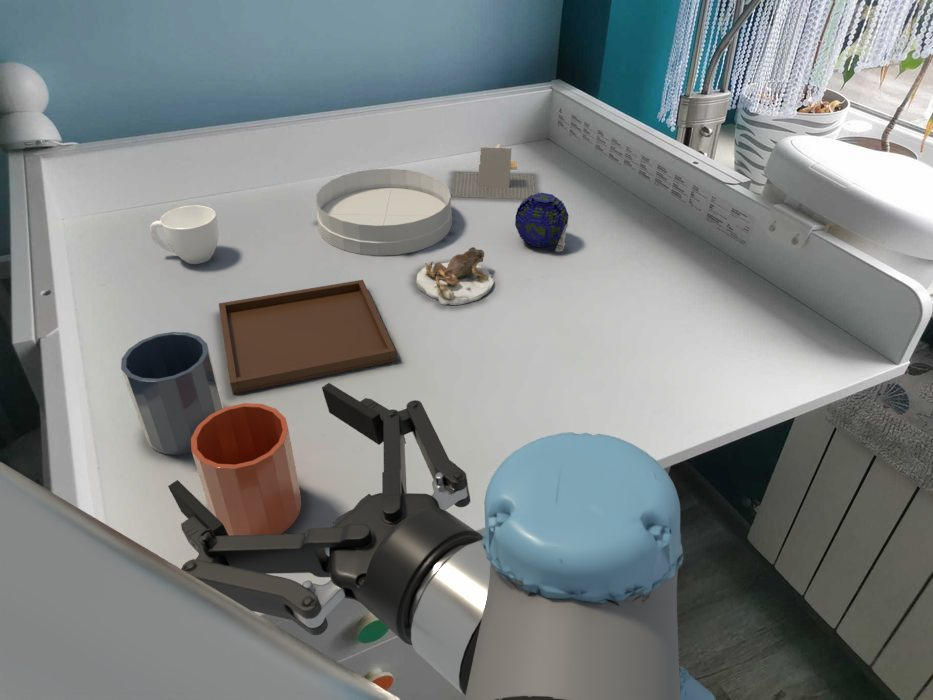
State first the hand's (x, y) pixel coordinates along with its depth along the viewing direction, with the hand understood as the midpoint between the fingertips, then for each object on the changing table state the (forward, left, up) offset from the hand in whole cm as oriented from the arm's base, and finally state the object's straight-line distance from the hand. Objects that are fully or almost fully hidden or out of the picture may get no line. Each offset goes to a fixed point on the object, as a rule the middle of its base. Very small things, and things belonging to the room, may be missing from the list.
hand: (259, 443), depth 54 cm
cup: (-6, +60, -15) cm, 62 cm away
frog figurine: (+30, +41, -15) cm, 53 cm away
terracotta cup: (-2, +7, -15) cm, 16 cm away
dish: (+25, +62, -15) cm, 68 cm away
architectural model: (+48, +71, -15) cm, 87 cm away
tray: (+7, +34, -15) cm, 38 cm away
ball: (+47, +48, -15) cm, 69 cm away
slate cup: (-8, +21, -15) cm, 27 cm away
